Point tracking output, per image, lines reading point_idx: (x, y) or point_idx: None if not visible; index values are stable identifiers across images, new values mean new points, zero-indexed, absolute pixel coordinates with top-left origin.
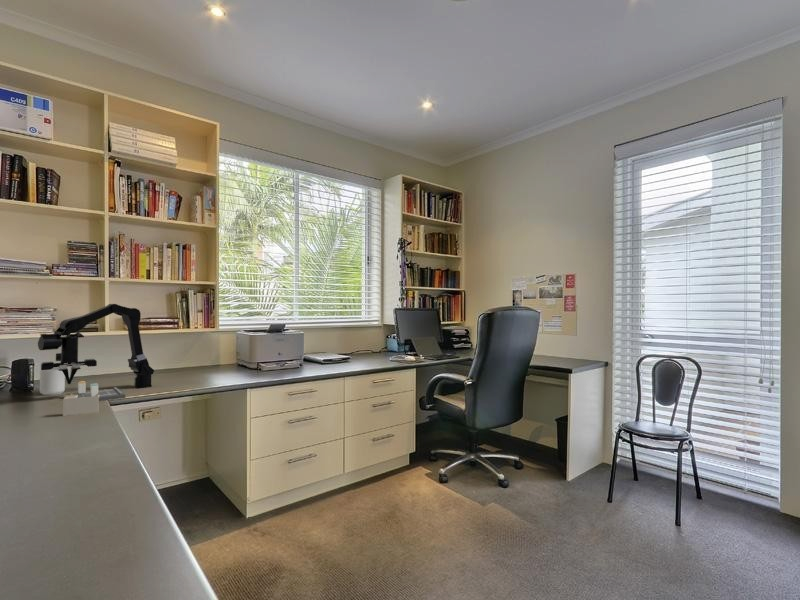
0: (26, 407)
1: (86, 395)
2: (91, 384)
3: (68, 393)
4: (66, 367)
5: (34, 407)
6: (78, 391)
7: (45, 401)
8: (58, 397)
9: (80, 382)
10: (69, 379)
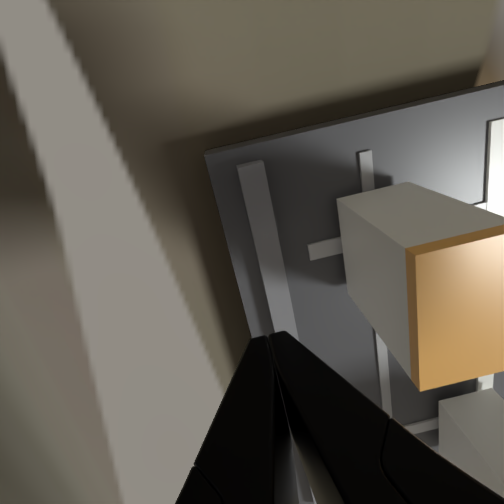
0: (11, 481)
1: None
2: None
3: (229, 156)
4: None
5: (74, 495)
6: (354, 289)
7: (61, 310)
8: (120, 127)
9: (443, 380)
10: (295, 433)
